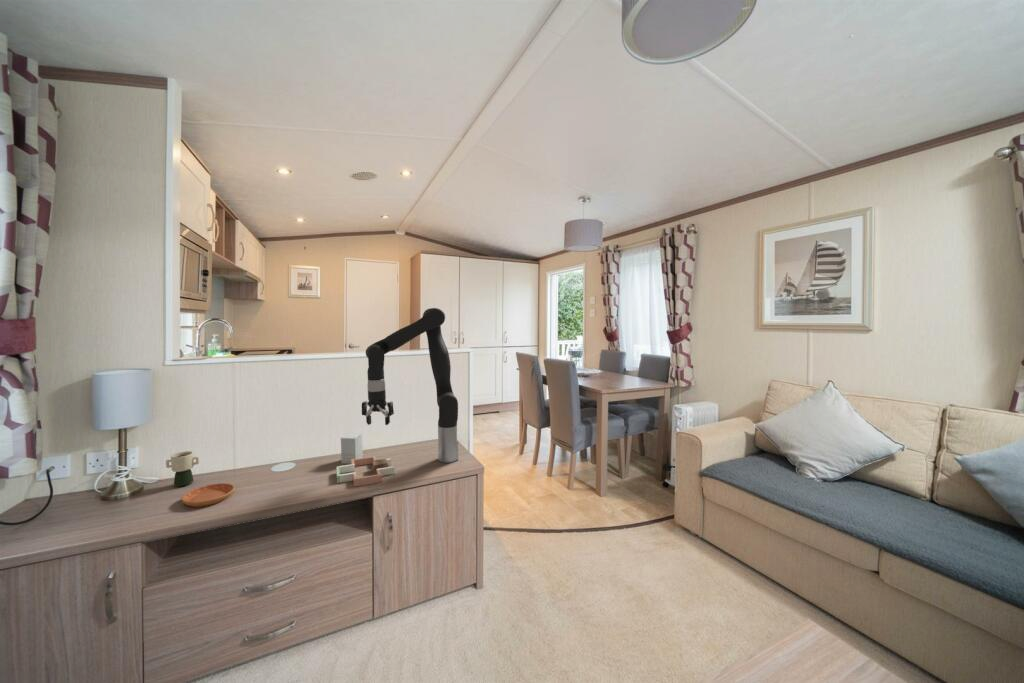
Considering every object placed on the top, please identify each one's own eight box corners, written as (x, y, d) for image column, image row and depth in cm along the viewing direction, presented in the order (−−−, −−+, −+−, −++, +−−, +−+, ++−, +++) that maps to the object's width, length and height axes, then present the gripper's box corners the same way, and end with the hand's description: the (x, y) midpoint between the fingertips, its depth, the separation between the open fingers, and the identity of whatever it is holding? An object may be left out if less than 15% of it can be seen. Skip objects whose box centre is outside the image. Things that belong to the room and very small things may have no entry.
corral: (389, 459, 189) (388, 453, 188) (396, 479, 167) (396, 472, 167) (336, 467, 178) (336, 461, 178) (337, 489, 157) (337, 482, 156)
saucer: (242, 488, 157) (241, 481, 157) (221, 507, 142) (221, 499, 142) (197, 491, 154) (197, 484, 154) (171, 511, 139) (171, 503, 138)
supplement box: (363, 458, 190) (362, 433, 189) (355, 464, 183) (355, 438, 182) (348, 457, 191) (348, 433, 190) (340, 463, 184) (340, 437, 183)
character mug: (202, 478, 165) (201, 449, 164) (197, 485, 159) (195, 455, 158) (170, 483, 161) (169, 453, 160) (163, 490, 154) (161, 459, 154)
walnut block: (386, 467, 179) (386, 458, 179) (387, 472, 174) (387, 463, 174) (372, 470, 177) (372, 460, 176) (373, 475, 171) (373, 465, 171)
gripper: (395, 387, 175) (396, 422, 176) (366, 387, 177) (367, 421, 178) (387, 391, 167) (389, 427, 169) (357, 390, 169) (359, 426, 171)
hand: (378, 424), depth 173 cm, fingers open, 8 cm apart
